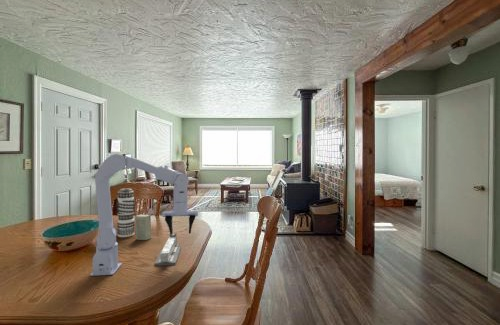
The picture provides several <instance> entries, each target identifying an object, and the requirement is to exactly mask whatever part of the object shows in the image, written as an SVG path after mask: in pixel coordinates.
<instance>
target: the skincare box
mask: <svg viewBox="0 0 500 325" xmlns="http://www.w3.org/2000/svg"><path fill="white" fill-rule="evenodd" d="M151 221H152V220H151V214H138V215H135V237H136V238H135V239H136V240H138V241H139V240H141V241H148V240H149V239H151V238H152V224H151V223H152V222H151Z"/></svg>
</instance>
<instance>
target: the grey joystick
mask: <svg viewBox="0 0 500 325" xmlns="http://www.w3.org/2000/svg"><path fill="white" fill-rule="evenodd" d="M169 237H176V238H177V233H172V234H170V233H169ZM175 247H180V242H179V243H177V242H176V245H175Z"/></svg>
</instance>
